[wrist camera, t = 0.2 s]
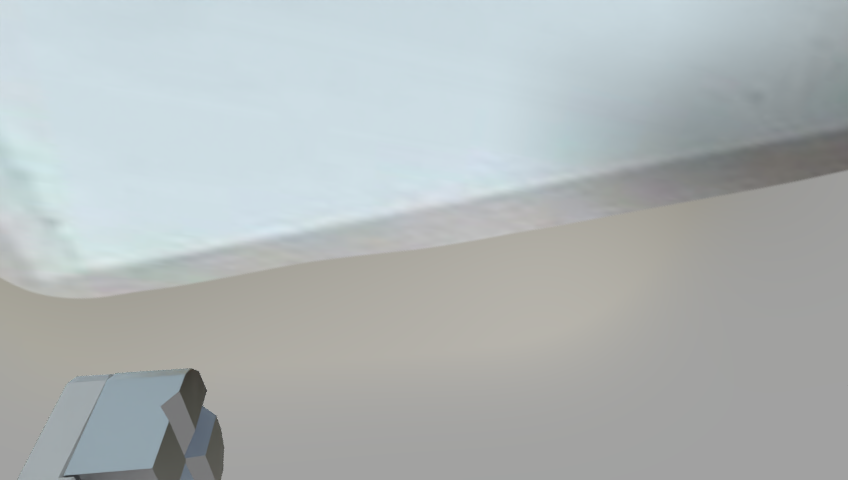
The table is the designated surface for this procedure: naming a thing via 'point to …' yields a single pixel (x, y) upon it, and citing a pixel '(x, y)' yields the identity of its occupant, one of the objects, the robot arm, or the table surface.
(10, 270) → the table surface
